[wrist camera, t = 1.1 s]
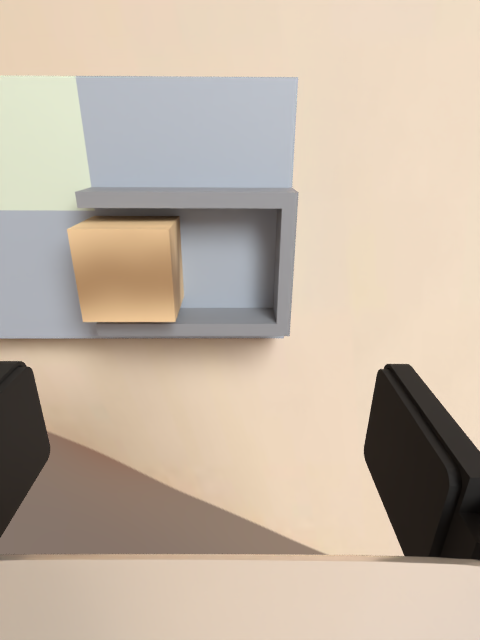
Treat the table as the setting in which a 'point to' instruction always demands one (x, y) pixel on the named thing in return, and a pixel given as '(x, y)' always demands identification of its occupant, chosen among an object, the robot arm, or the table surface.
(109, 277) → the block
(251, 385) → the table surface
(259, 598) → the robot arm
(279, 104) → the grey sorting tray
